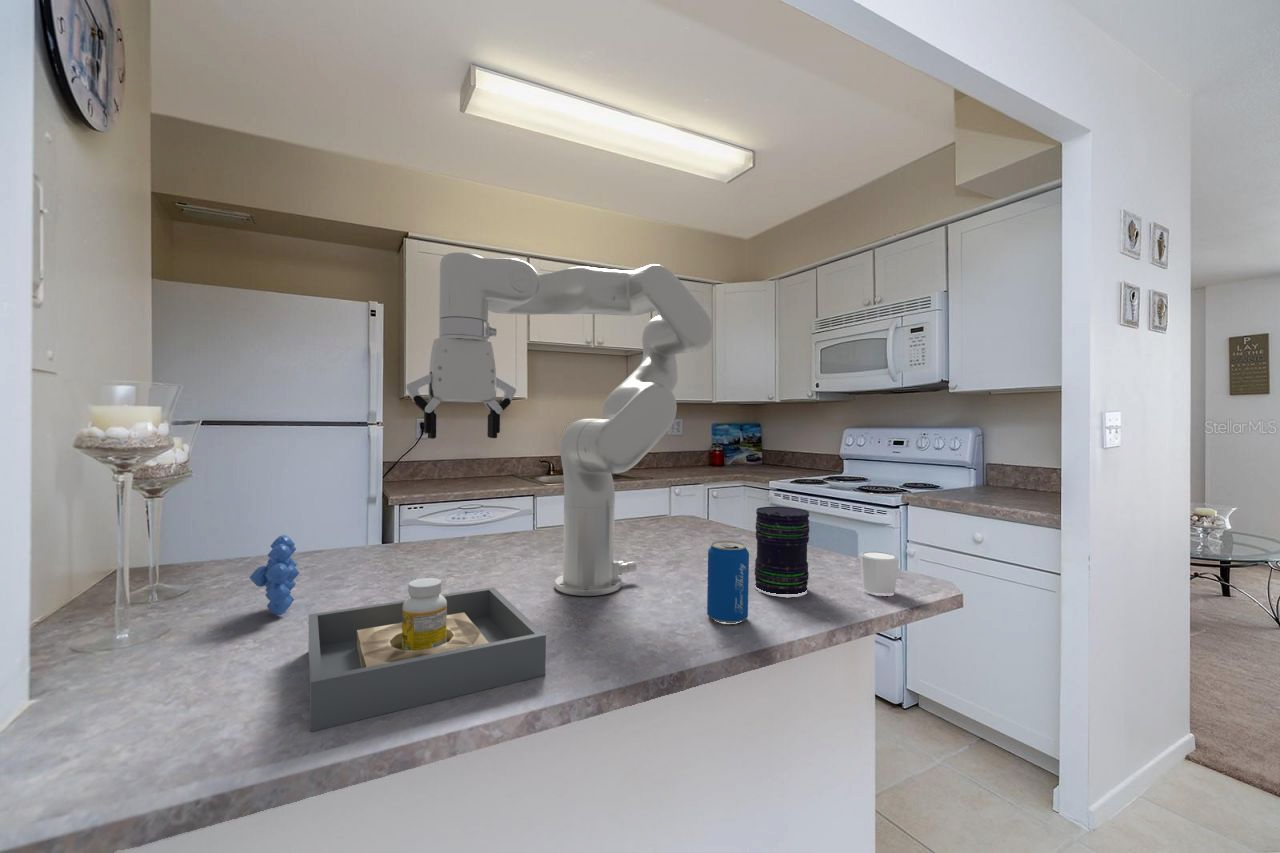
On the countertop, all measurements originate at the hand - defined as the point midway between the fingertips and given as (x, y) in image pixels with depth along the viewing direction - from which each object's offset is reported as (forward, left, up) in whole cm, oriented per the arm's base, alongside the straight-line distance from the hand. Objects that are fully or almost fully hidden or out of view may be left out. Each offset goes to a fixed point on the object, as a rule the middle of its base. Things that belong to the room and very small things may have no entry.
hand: (462, 438), depth 91 cm
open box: (+9, +17, -28) cm, 34 cm away
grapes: (+26, -14, -28) cm, 41 cm away
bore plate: (+9, +17, -28) cm, 34 cm away
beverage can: (-36, +24, -28) cm, 52 cm away
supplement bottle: (+9, +17, -28) cm, 34 cm away
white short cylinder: (-70, +27, -28) cm, 80 cm away
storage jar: (-55, +17, -28) cm, 64 cm away
